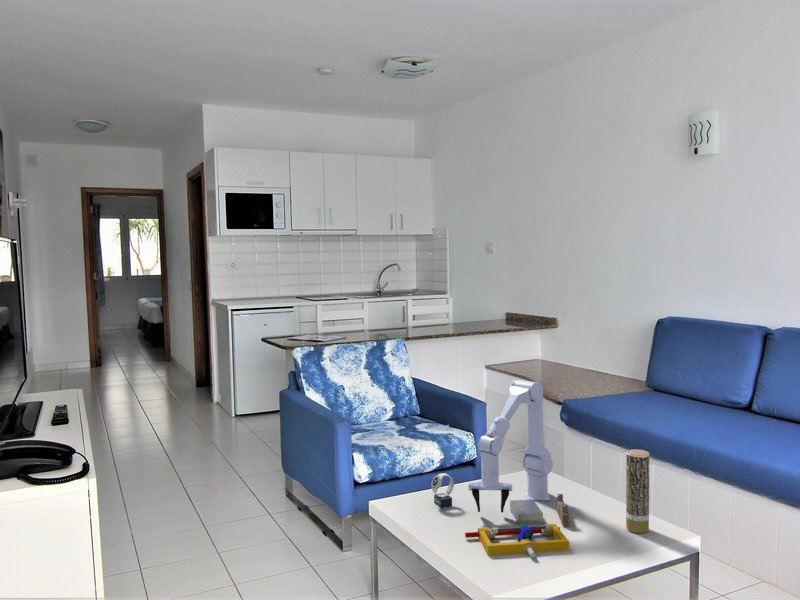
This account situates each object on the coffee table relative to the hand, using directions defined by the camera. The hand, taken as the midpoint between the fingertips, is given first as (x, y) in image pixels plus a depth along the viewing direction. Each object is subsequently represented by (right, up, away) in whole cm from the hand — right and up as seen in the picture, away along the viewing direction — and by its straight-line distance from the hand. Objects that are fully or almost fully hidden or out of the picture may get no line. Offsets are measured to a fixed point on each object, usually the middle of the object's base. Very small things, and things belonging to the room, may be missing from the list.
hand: (490, 511), depth 227 cm
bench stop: (+24, -2, -2) cm, 24 cm away
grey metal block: (+12, -2, -1) cm, 12 cm away
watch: (-15, -2, +11) cm, 19 cm away
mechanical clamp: (+6, -4, -23) cm, 24 cm away
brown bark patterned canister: (+45, -2, -13) cm, 47 cm away
